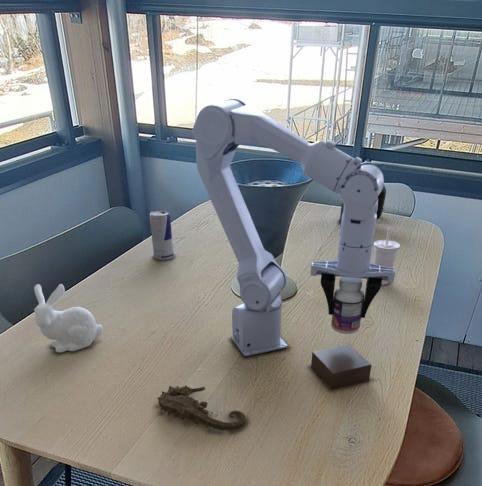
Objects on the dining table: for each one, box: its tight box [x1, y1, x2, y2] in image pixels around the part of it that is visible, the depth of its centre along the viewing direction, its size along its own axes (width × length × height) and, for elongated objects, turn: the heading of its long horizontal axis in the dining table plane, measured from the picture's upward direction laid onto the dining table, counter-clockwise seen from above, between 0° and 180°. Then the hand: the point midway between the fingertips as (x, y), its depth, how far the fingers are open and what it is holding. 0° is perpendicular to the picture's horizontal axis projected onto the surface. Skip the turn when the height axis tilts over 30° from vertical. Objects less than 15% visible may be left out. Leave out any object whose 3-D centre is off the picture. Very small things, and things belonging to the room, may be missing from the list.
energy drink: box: [149, 209, 174, 261], centre depth 142 cm, size 5×5×12 cm
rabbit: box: [33, 283, 104, 354], centre depth 105 cm, size 12×9×12 cm
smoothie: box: [372, 226, 401, 286], centre depth 129 cm, size 6×6×14 cm
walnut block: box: [310, 343, 372, 390], centre depth 98 cm, size 8×8×4 cm
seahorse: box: [156, 384, 247, 431], centre depth 89 cm, size 9×16×3 cm, turn 48°
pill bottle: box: [330, 277, 365, 335], centre depth 97 cm, size 5×5×10 cm
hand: (347, 313), depth 98 cm, fingers closed on pill bottle, 5 cm apart
